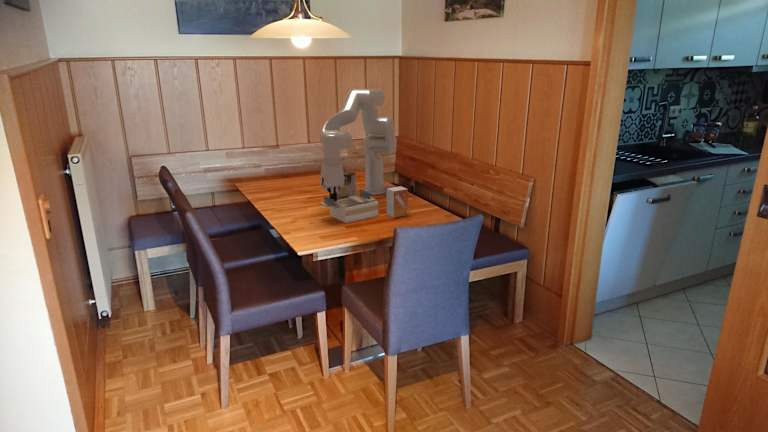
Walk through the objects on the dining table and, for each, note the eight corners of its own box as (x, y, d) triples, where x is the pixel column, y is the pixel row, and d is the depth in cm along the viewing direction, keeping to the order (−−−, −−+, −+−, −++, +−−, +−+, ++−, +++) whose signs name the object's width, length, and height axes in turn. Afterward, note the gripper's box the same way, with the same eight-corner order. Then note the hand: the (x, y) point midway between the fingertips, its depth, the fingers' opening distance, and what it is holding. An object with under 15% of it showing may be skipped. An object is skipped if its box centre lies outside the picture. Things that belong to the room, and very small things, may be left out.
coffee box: (335, 204, 260) (333, 173, 255) (340, 201, 265) (339, 171, 261) (351, 206, 257) (351, 175, 252) (356, 203, 262) (355, 172, 258)
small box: (393, 218, 238) (393, 191, 234) (386, 214, 243) (386, 188, 239) (407, 215, 242) (408, 188, 238) (400, 212, 247) (400, 185, 243)
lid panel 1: (334, 200, 239) (334, 193, 238) (347, 206, 231) (347, 198, 230) (318, 203, 234) (318, 196, 233) (330, 209, 226) (330, 201, 225)
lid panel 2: (360, 203, 235) (360, 195, 234) (348, 198, 243) (347, 190, 242) (376, 200, 240) (376, 192, 239) (362, 195, 248) (362, 188, 247)
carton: (361, 209, 252) (361, 195, 250) (378, 216, 241) (378, 201, 239) (329, 215, 241) (329, 201, 239) (345, 223, 231) (345, 208, 228)
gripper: (342, 158, 234) (343, 196, 239) (313, 162, 225) (314, 202, 231) (350, 160, 228) (351, 200, 234) (321, 164, 220) (323, 205, 225)
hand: (333, 201), depth 232 cm, fingers closed
